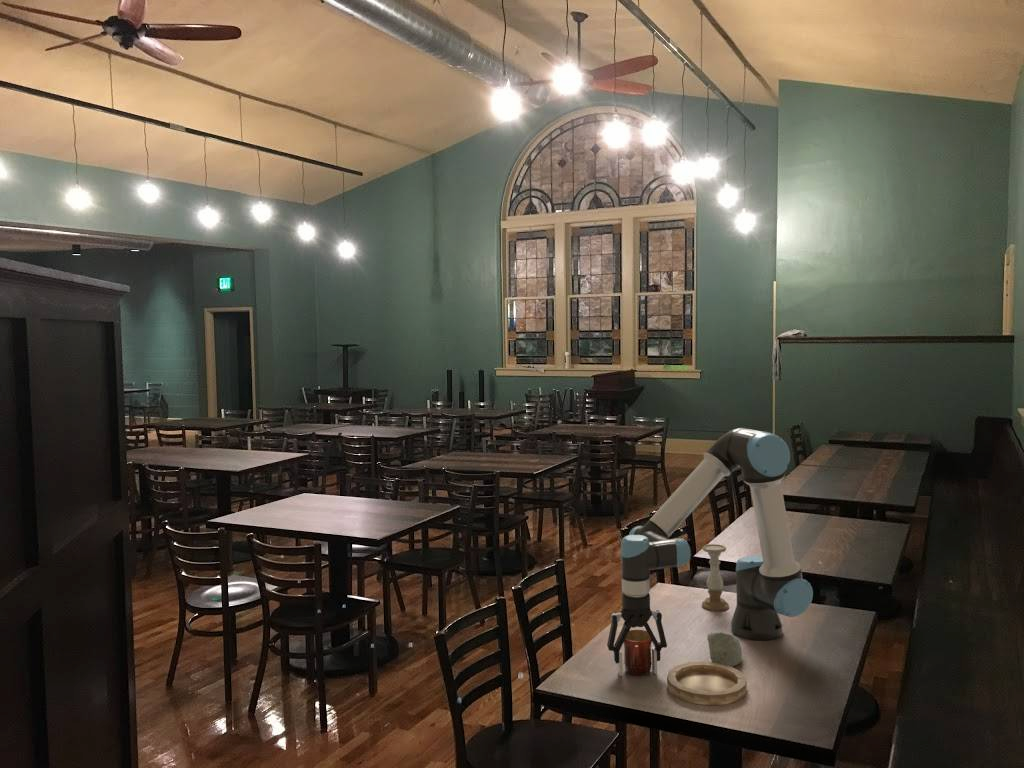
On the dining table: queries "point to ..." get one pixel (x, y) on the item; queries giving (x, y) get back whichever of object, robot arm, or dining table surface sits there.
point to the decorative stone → (724, 648)
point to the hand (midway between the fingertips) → (637, 673)
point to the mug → (637, 652)
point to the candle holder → (714, 579)
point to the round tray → (706, 683)
